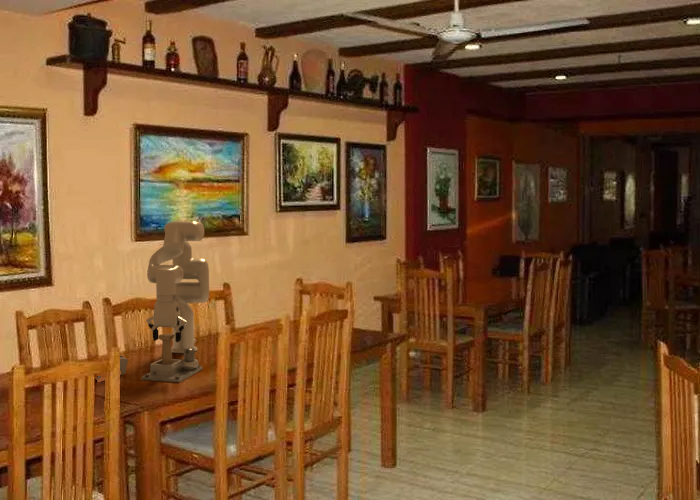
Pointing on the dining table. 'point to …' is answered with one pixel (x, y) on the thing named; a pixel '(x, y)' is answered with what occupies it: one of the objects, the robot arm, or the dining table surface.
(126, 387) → the dining table surface
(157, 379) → the fitting
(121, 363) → the hinge
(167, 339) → the handle
